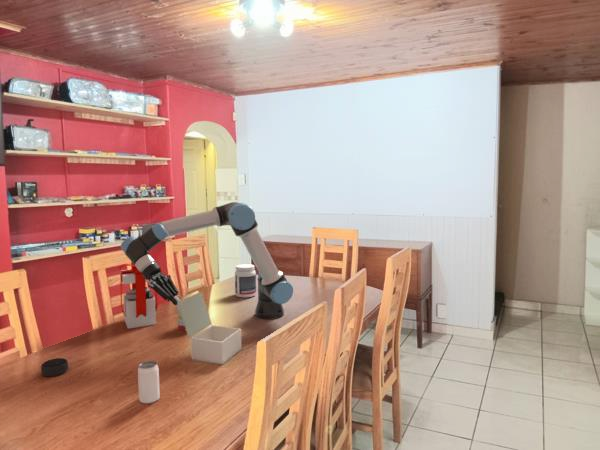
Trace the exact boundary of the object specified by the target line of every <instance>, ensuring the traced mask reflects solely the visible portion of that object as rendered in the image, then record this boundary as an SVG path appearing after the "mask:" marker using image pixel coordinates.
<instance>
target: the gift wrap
mask: <svg viewBox="0 0 600 450" xmlns="http://www.w3.org/2000/svg"><path fill="white" fill-rule="evenodd" d="M130 262H131V261H130ZM126 266H130V267H131V268H130V269H122V268H123V267H126ZM118 269H119V274H120V276H119V277H120V307H121V311H122V314H123V315H124V317H123V318H124V322H125V326H126V327H127V329H133V328H140V327H141V328H142V327H147V326H153V325H157V314H156V312H157V310H158V293H157V292H156V291H154V293H155V296H154V295H153V292H152V290H151V288H148V286H147V285H146V283H147V282H149V283H150V281H149V280H146V279H145V277H144V276H143V275H142V272H140V271H139V270H138V269H137V267H136V266H135V265H134V264H133V263H132V262H131V263H124V264H123V263H122V264H121V265H119V267H118ZM130 284H131V289H130V290H128V291H127V290H126V291H125V294H124V295H123V285H130ZM122 296H123V297H122Z"/></svg>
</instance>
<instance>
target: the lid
mask: <svg viewBox="0 0 600 450" xmlns="http://www.w3.org/2000/svg"><path fill="white" fill-rule="evenodd" d="M180 300H181V299H180ZM177 303H178V306H179V310H180V313H181V316H182V319H183V323H184V326H185V329H186V331H185V332H186V335H187V338H188V339H191V338H192V337H194V336H195V335H197V334H199V333H200V332H202V331H204V330H205V329H207V328H208V327H210V326H212V321H211V318H210V314H209V312H208V307H207V305H206V302H205V298H204V295H203V292H202V291H199V292H196V293H195V294H192V295H190V296H188V297H186V298H184V299H182V300H181V301H179V302H177Z"/></svg>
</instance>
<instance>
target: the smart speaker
mask: <svg viewBox="0 0 600 450" xmlns="http://www.w3.org/2000/svg"><path fill="white" fill-rule="evenodd" d="M40 370H41V371H40V372H41V375H43V376H44V377H56V376H60V375H63V374H64V373H66V372H67V371H68V370H69V361H68V360H67V359H66V358H61V357H59V358H58V357H57V358H56V357H55V358H52V359H48V360H46V361H44V362H42V364H41V366H40Z"/></svg>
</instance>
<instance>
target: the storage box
mask: <svg viewBox="0 0 600 450" xmlns="http://www.w3.org/2000/svg"><path fill="white" fill-rule="evenodd" d="M190 343H191V344H190V345H191V346H190V351H191V360H192V361H197V362H203V363H208V364H209V363H210V364H216V365H225V364H226V363H227V362H229V360H231V359H232V358H233V357H234V356H235V355H237V354H238V353H239V352H240V351H241V349H242V329H241V328H238V327H237V328H235V327H229V326H222V325H221V326H220V325H214V324H211V325H210V326H208V327H207V328H205V329H203V330H202V331H200V332H198V333H197V334H195V335H193V336H192V337H190ZM231 357H232V358H231ZM225 362H226V363H225Z"/></svg>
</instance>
